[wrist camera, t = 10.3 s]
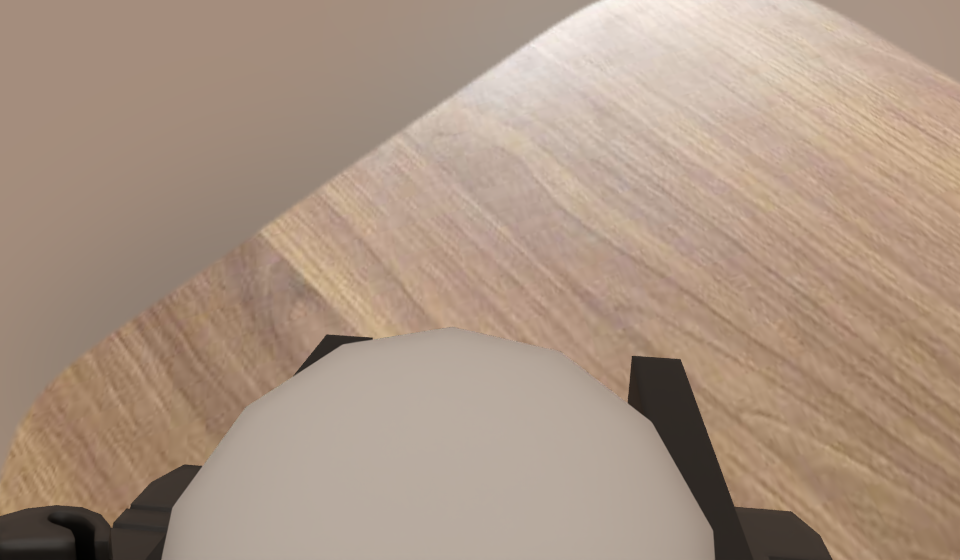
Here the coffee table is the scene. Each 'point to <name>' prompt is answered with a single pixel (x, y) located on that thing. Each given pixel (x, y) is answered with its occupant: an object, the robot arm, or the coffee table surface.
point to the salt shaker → (440, 464)
